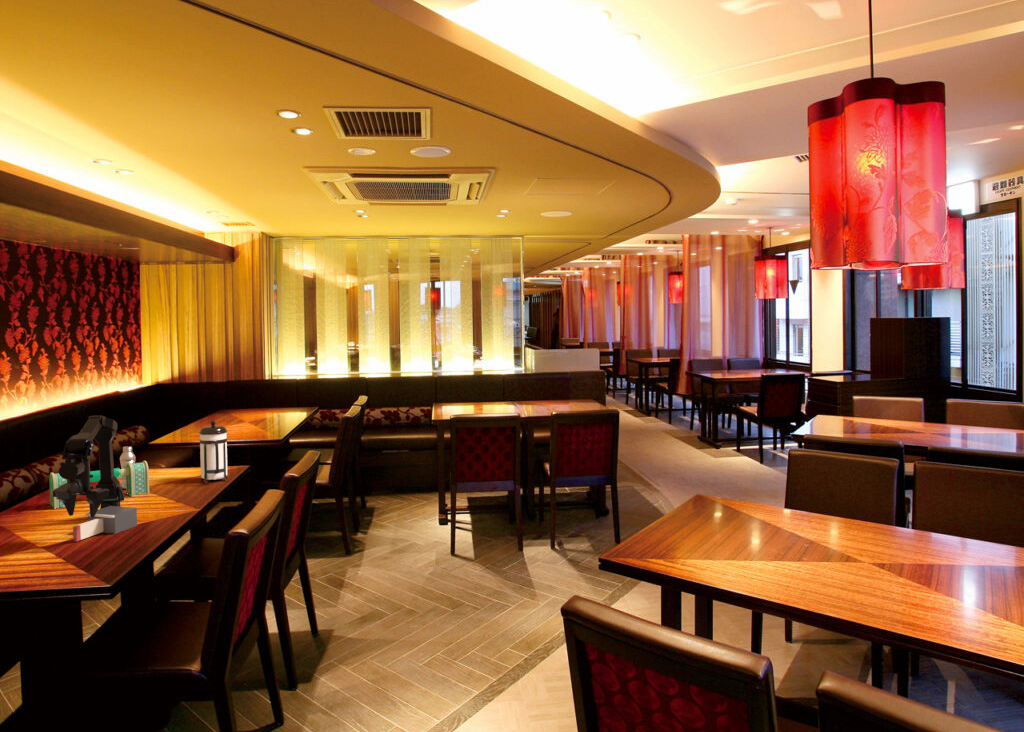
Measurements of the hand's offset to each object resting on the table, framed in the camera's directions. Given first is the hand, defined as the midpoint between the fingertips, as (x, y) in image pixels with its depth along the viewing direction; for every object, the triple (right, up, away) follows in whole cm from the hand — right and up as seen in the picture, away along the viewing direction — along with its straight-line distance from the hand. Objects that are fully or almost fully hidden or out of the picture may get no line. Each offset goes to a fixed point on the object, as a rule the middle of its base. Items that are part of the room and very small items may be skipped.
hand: (81, 516), depth 225 cm
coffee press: (+5, -4, +91) cm, 91 cm away
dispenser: (+3, -8, +12) cm, 15 cm away
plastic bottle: (-28, -5, +74) cm, 80 cm away
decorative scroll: (-29, -6, +55) cm, 62 cm away
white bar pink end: (+1, -8, +7) cm, 10 cm away
